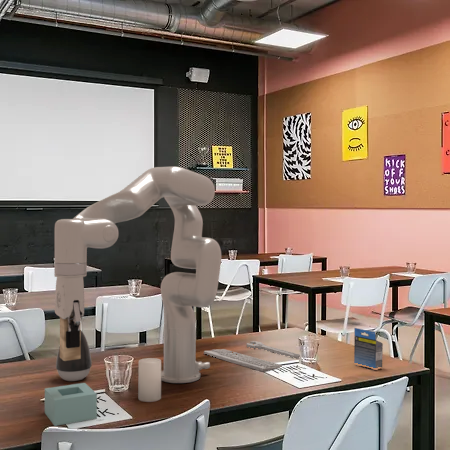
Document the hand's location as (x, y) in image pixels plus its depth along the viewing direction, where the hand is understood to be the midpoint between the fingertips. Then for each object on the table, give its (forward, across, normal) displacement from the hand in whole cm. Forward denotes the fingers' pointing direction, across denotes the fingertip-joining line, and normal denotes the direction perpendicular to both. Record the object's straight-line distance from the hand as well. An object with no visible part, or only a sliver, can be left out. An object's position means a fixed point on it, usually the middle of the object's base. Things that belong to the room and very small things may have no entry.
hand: (70, 344), depth 139 cm
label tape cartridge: (+17, +2, +96) cm, 98 cm away
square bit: (+3, 0, 0) cm, 3 cm away
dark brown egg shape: (+18, -30, +9) cm, 36 cm away
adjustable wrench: (+18, -30, +80) cm, 87 cm away
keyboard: (+18, -24, +65) cm, 71 cm away
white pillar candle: (+17, -3, +22) cm, 28 cm away
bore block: (+17, 0, 0) cm, 17 cm away
